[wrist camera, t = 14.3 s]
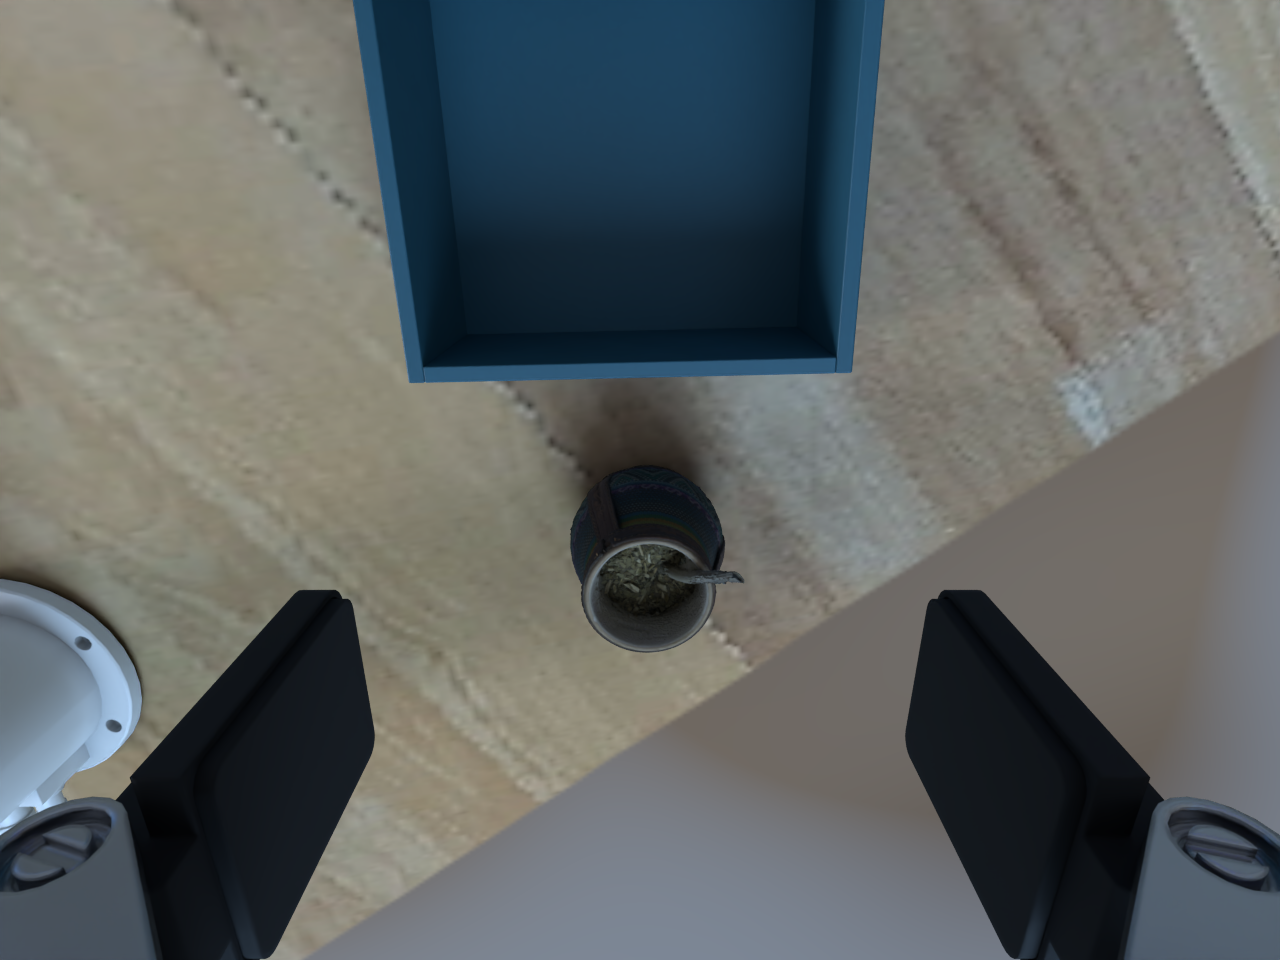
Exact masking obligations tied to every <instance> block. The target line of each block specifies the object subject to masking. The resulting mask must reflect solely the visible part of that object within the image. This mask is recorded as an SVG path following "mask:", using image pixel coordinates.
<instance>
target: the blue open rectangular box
mask: <svg viewBox="0 0 1280 960" xmlns="http://www.w3.org/2000/svg"><path fill="white" fill-rule="evenodd" d="M884 1H885V0H353V5H354V12H355V19H356V26H357V32H358V39H359V46H360V53H361V60H362V66H363V73H364V80H365V87H366V94H367V101H368V107H369V114H370V121H371V128H372V135H373V141H374V148H375V155H376V162H377V169H378V175H379V182H380V189H381V196H382V203H383V209H384V216H385V223H386V230H387V237H388V243H389V250H390V257H391V264H392V271H393V277H394V284H395V291H396V298H397V305H398V312H399V318H400V325H401V332H402V339H403V346H404V352H405V359H406V366H407V373H408V380H409V383H424V382H427V383H430V382H473V381H517V380H560V379H604V378H647V377H691V376H734V375H777V374H821V373H835V372H836V373H851V372H852V364H853V353H854V341H855V330H856V319H857V307H858V296H859V285H860V273H861V262H862V251H863V239H864V228H865V217H866V205H867V194H868V183H869V171H870V160H871V149H872V137H873V126H874V115H875V103H876V92H877V81H878V69H879V58H880V47H881V35H882V24H883V13H884Z"/></svg>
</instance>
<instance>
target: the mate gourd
mask: <svg viewBox="0 0 1280 960" xmlns="http://www.w3.org/2000/svg"><path fill="white" fill-rule="evenodd" d="M570 530H571V534H570V535H571V543H570V545H571V547H570V548H571V554H572V561H573V564H574V567H575V570H576V574H577V575H578V577H579V580H580V582H581V584H582V586H581V589H582V591H581V596H582V598H581V601H582V606H583V608H584V612H585V614H586V618H587V619H588V621H589V623H590V624H591V625H592V627H593V628H594V629H595V630H596V632H597V633H598V634H600V636H602V637H603V638H604V639H606V640H607V641H609V642H610V643H612V644H614V645H616V646H618V647H621V648H623V649H626V650H630V651H635V652H646V653H647V652H659V651H664V650H668V649H671V648H674V647H676V646H678V645H680V644H682V643H684V642H686V641H687V640H689V639H690V638H692V637H693V636H694V635H695V634H696V633H697V632H698V631H699V630H700V629H701V628H702V627H703V625H704V624H705V623H706V621H707V620H708V618H709V616H710V614H711V612H712V609H713V606H714V603H715V596H716V588H715V587H716V586H715V584H721V583H723V584H726V582H727V581H729V582H740V583H744V579H743V578H742V576H741V575H740V574H739V573H737V572H727V571H725V572H724V571H719V570H720V567H721V564H722V562H723V558H724V550H725V540H724V536H723V535H722V528H721V524H720V521H719V518H718V515H717V513H716V511H715V509H714V507H713V505H712V503H711V501H710V500H709V499H708V498H707V497H706V495H705V494H704V493H703V491H701V489H700V487H698V486H696V485H695V484H694V483H693V482H691V481H690V480H688V479H687V478H685V477H684V476H682V475H681V474H679V473H677V472H675V471H672V470H670V469H667V468H663V467H658V466H653V465H649V466H648V465H644V466H635V467H632V468H629V469H624V470H621V471H618V472H615V473H612V474H609V475H608V476H606V477H605V478H604V479H603V480H602V481H601V482H599V483H598V484H596V485H595V486H594V487H593V488H592V489H591V490H590V491H589V492H588V495H587V497H586V498H585V500H584V501H583V503H582V505H581V507H580V508H579V510H578V512H577V514H576V516H575V518H574V521H573V525H572V527H571V529H570Z"/></svg>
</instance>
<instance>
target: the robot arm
mask: <svg viewBox="0 0 1280 960" xmlns="http://www.w3.org/2000/svg"><path fill="white" fill-rule="evenodd" d="M141 705H142V696H141V687H140V682H139V679H138V676H137V673H136V670H135V668H134V665H133V663H132V662H131V660H130V658H129V656H128V655H127V653H126V651H125V650H124V648H123V647H122V645H121V644H120V643H119V642H118V641H117V639H116V638H115V637H114V636H113V634H112V633H111V632H110V631H109V630H108V629H107V628H106V627H105V626H103V625H102V624H101V623H100V622H99V621H98V620H97V619H96V618H95V617H93V616H92V615H91V614H89V613H88V612H86V611H85V610H83V609H82V608H80V607H79V606H77V605H76V604H74V603H73V602H71V601H69V600H67V599H65V598H63V597H61V596H59V595H57V594H55V593H53V592H51V591H48V590H45V589H42V588H39V587H36V586H33V585H30V584H27V583H22V582H16V581H11V580H5V579H0V960H260V959H266V958H268V957H270V956H271V955H272V954H273V952H274V951H275V949H276V947H277V946H278V944H279V941H280V939H281V937H282V935H283V933H284V931H285V929H286V927H287V925H288V923H289V921H290V919H291V917H292V915H293V913H294V911H295V909H296V907H297V905H298V903H299V901H300V899H301V897H302V895H303V893H304V891H305V889H306V887H307V885H308V883H309V881H310V879H311V876H312V874H313V872H314V870H315V868H316V866H317V864H318V862H319V860H320V858H321V856H322V854H323V852H324V850H325V848H326V846H327V844H328V842H329V840H330V838H331V836H332V834H333V832H334V830H335V828H336V826H337V824H338V822H339V820H340V818H341V816H342V814H343V811H344V809H345V807H346V805H347V803H348V801H349V799H350V797H351V795H352V793H353V791H354V789H355V787H356V785H357V783H358V781H359V779H360V777H361V775H362V773H363V771H364V769H365V767H366V765H367V763H368V761H369V759H370V757H371V754H372V751H373V747H374V740H375V733H374V726H373V720H372V714H371V708H370V703H369V697H368V691H367V685H366V680H365V674H364V668H363V662H362V656H361V651H360V645H359V639H358V633H357V628H356V622H355V616H354V610H353V606H352V603H351V601H350V600H349V599H342V596H341V595H340V593H339V592H338V591H336V590H299V591H298V592H296V593H295V594H294V595H293V596H292V597H291V598H290V600H289V601H288V602H287V603H286V604H285V605H284V606H283V607H282V608H281V610H280V611H279V612H278V613H277V614H276V615H275V616H274V617H273V619H272V620H271V621H270V622H269V623H268V624H267V625H266V626H265V627H264V629H263V630H262V631H261V632H260V633H259V634H258V635H257V636H256V637H255V639H254V640H253V641H252V642H251V643H250V644H249V645H248V646H247V647H246V649H245V650H244V651H243V652H242V653H241V654H240V655H239V656H238V657H237V659H236V660H235V661H234V662H233V663H232V664H231V665H230V666H229V668H228V669H227V670H226V671H225V672H224V673H223V674H222V675H221V676H220V678H219V679H218V680H217V681H216V682H215V683H214V684H213V685H212V686H211V688H210V689H209V690H208V691H207V692H206V693H205V694H204V695H203V696H202V698H201V699H200V700H199V701H198V702H197V703H196V704H195V705H194V706H193V708H192V709H191V710H190V711H189V712H188V713H187V714H186V715H185V717H184V718H183V719H182V720H181V721H180V722H179V723H178V724H177V725H176V727H175V728H174V729H173V730H172V731H171V732H170V733H169V734H168V735H167V737H166V738H165V739H164V740H163V741H162V742H161V743H160V744H159V745H158V747H157V748H156V749H155V750H154V751H153V752H152V753H151V754H150V755H149V757H148V758H147V759H146V760H145V761H144V762H143V763H142V764H141V766H140V767H139V768H138V769H137V770H136V771H135V772H134V773H133V774H132V776H131V777H130V780H131V784H130V785H129V786H128V787H127V788H126V789H125V790H124V791H123V793H122V794H121V795H120V796H119V797H118V798H117V799H116V800H113V799H111V798H105V797H87V798H81V799H74V800H70V801H67V799H66V798H65V797H64V796H63V794H62V791H61V790H62V789H63V788H64V785H65V782H66V781H67V780H68V779H69V778H70V777H71V776H72V775H73V774H74V773H75V772H79V771H82V770H85V769H88V768H91V767H94V766H96V765H97V764H99V763H101V762H103V761H104V760H106V759H108V758H109V757H110V756H111V755H112V754H113V753H114V752H115V751H116V750H117V749H118V748H119V747H120V746H121V745H123V744H124V742H125V741H126V740H127V739H128V737H129V736H130V735H131V734H132V733H133V731H134V729H135V727H136V725H137V722H138V720H139V718H140V712H141ZM905 739H906V747H907V751H908V754H909V757H910V759H911V761H912V763H913V765H914V767H915V769H916V771H917V773H918V775H919V777H920V779H921V781H922V783H923V785H924V787H925V789H926V791H927V793H928V795H929V797H930V799H931V801H932V803H933V805H934V807H935V809H936V812H937V814H938V816H939V818H940V820H941V822H942V824H943V826H944V828H945V830H946V832H947V834H948V836H949V838H950V840H951V842H952V844H953V846H954V848H955V850H956V852H957V854H958V856H959V858H960V860H961V862H962V864H963V866H964V868H965V870H966V872H967V874H968V876H969V879H970V881H971V883H972V884H973V887H974V889H975V891H976V893H977V895H978V897H979V899H980V901H981V903H982V905H983V907H984V909H985V911H986V913H987V915H988V917H989V919H990V921H991V923H992V925H993V927H994V929H995V931H996V933H997V935H998V937H999V939H1000V941H1001V943H1002V946H1003V947H1004V949H1005V951H1006V952H1007V953H1008V955H1009V956H1010V957H1012V958H1014V959H1020V960H1280V835H1279V834H1277V833H1276V832H1274V831H1273V830H1271V829H1270V828H1268V827H1267V826H1265V825H1264V824H1262V823H1261V822H1259V821H1258V820H1256V819H1254V818H1252V817H1250V816H1248V815H1246V814H1244V813H1242V812H1240V811H1238V810H1236V809H1234V808H1231V807H1228V806H1225V805H1222V804H1219V803H1216V802H1213V801H1210V800H1206V799H1199V798H1192V797H1175V798H1169V799H1167V800H1164V799H1163V798H1162V797H1161V796H1160V795H1159V794H1158V793H1157V791H1156V790H1155V789H1154V788H1153V787H1152V786H1151V785H1150V784H1149V780H1150V777H1149V776H1148V774H1147V773H1146V772H1145V771H1144V770H1143V769H1142V768H1141V767H1140V766H1139V764H1138V763H1137V762H1136V761H1135V760H1134V759H1133V758H1132V757H1131V755H1130V754H1129V753H1128V752H1127V751H1126V750H1125V749H1124V748H1123V747H1122V745H1121V744H1120V743H1119V742H1118V741H1117V740H1116V739H1115V738H1114V737H1113V735H1112V734H1111V733H1110V732H1109V731H1108V730H1107V729H1106V728H1105V727H1104V725H1103V724H1102V723H1101V722H1100V721H1099V720H1098V719H1097V718H1096V717H1095V715H1094V714H1093V713H1092V712H1091V711H1090V710H1089V709H1088V708H1087V706H1086V705H1085V704H1084V703H1083V702H1082V701H1081V700H1080V699H1079V698H1078V696H1077V695H1076V694H1075V693H1074V692H1073V691H1072V690H1071V689H1070V688H1069V686H1068V685H1067V684H1066V683H1065V682H1064V681H1063V680H1062V679H1061V678H1060V676H1059V675H1058V674H1057V673H1056V672H1055V671H1054V670H1053V669H1052V668H1051V666H1050V665H1049V664H1048V663H1047V662H1046V661H1045V660H1044V659H1043V658H1042V656H1041V655H1040V654H1039V653H1038V652H1037V651H1036V650H1035V649H1034V647H1033V646H1032V645H1031V644H1030V643H1029V642H1028V641H1027V640H1026V639H1025V637H1024V636H1023V635H1022V634H1021V633H1020V632H1019V631H1018V630H1017V629H1016V627H1015V626H1014V625H1013V624H1012V623H1011V622H1010V621H1009V620H1008V619H1007V617H1006V616H1005V615H1004V614H1003V613H1002V612H1001V611H1000V610H999V608H998V607H997V606H996V605H995V604H994V603H993V602H992V601H991V600H990V598H989V597H988V596H987V595H986V594H985V593H984V592H982V591H981V590H944V591H942V592H941V593H940V595H939V597H938V599H931V600H930V601H929V603H928V606H927V610H926V616H925V622H924V628H923V634H922V639H921V645H920V651H919V657H918V662H917V668H916V674H915V680H914V685H913V691H912V697H911V703H910V708H909V714H908V720H907V726H906V733H905ZM34 807H36V809H37V811H35V809H34ZM36 812H37V813H36Z"/></svg>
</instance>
